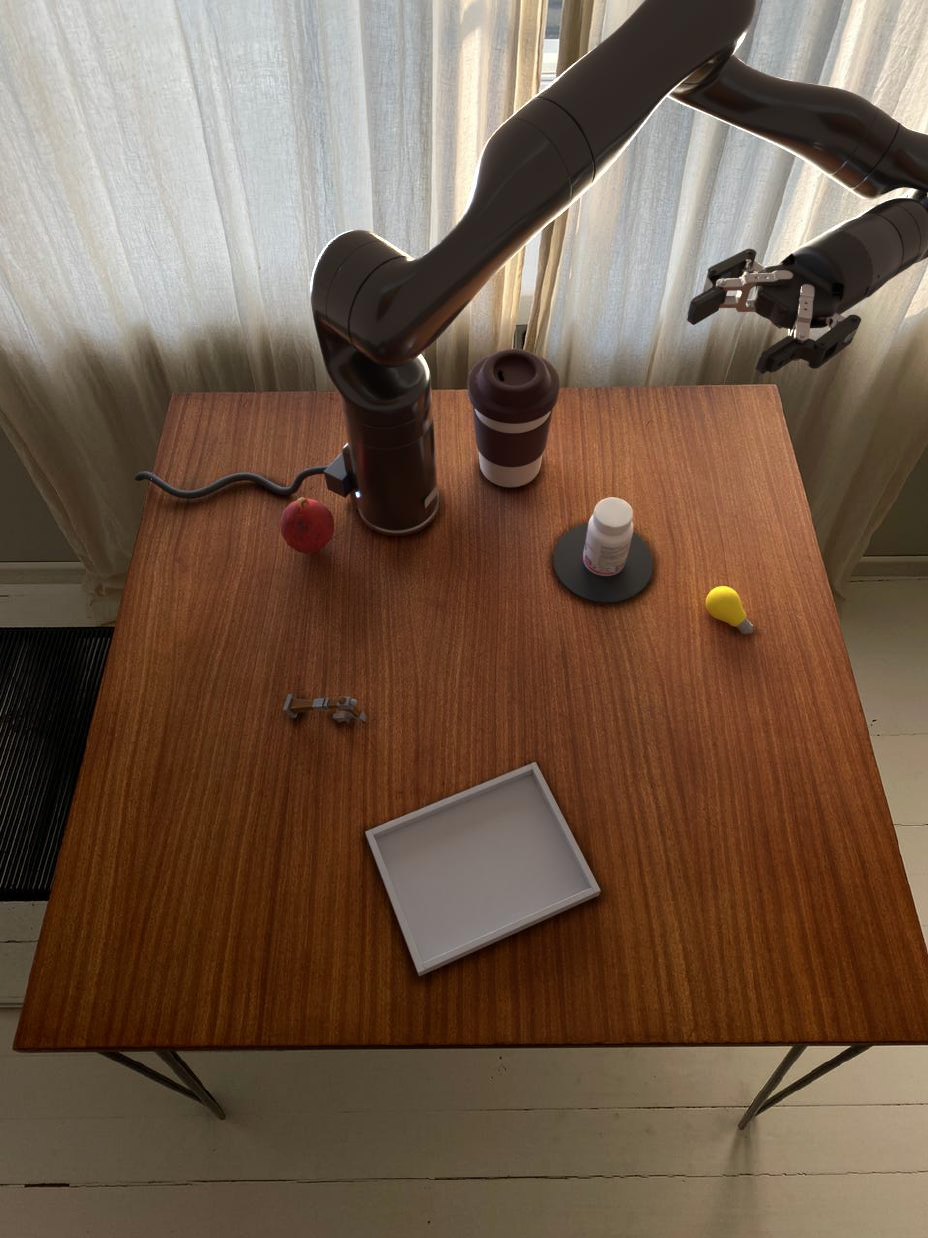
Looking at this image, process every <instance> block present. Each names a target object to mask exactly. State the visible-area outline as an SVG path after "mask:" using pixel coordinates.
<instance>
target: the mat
mask: <svg viewBox="0 0 928 1238" xmlns="http://www.w3.org/2000/svg"><path fill="white" fill-rule="evenodd" d="M588 523H589V522H587V523H582V524H580V525H577V526H575V527H573V528H571V529H570V530H568V531H567V532H566V533H564V534H563V535H562V536H561V538H560V539H559V540H558V542H557V544H556V545H555V548H554V550H553V555H552V556H553V557H552V563H553V570H554V573H555V575H556V577H557V579H558V581H559V582H560V583H561V584H562V586H563V587H564V588H565V590H567V591H568V592H569V593H571V594H572V595H574V596H575V597H577V598H579V599H582V600H583V601H585V602H589V603H594V604H600V605H614V604H619V603H623V602H626V601H629V600H631V599H633V598H635V597H636V596H638V595H639V594H640V593H641V592H643V591H644V589H645V588H647V585H648V584H649V582H650V580H651V578H652V574H653V571H654V560H653V555H652V553H651V550H650V548H649V546H648V545H647V544H646V542H645V541H644V539H642V537H641V536H639V535H638V534H637V533H635V532H634V531H633V534H632V539H631V543H630V547H629V551H628V555H627V560H626V563H625V566H624V568H623V569H622V570H621V571H620V572H619V573H617V574H615V575H611V576H601V575H597V574H594V573H593V572H591V571H590V570H589V569H588V568H587V567H586V566H585V564H584V561H583V552H584V547H585V541H586V535H587V528H588Z"/></svg>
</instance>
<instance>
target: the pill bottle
mask: <svg viewBox="0 0 928 1238" xmlns="http://www.w3.org/2000/svg"><path fill="white" fill-rule="evenodd" d="M593 509H594V510H593V513H592V514H591V516H590V517H589V520H588V522H587V523H588V528H587V535H586V541H585V547H584V552H583V561H584V564H585V566H586V567H587V568H588V569H589V570H590V571H591V572H593V573H594V574H597V575H601V576H611V575H615V574H617V573H619V572H620V571H621V570H622V569H623V568H624V566H625V563H626V560H627V555H628V551H629V547H630V543H631V539H632V534H633V532H634V523H633V517H634V511H633V508H632V506H631V505H630V503H628V502H627V501H626V500H624V499H622V498H619V497H605V498H603V499H601V500H599V501H598V502H597V503H596V505H595V507H594V508H593Z"/></svg>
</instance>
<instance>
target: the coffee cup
mask: <svg viewBox="0 0 928 1238" xmlns="http://www.w3.org/2000/svg"><path fill="white" fill-rule="evenodd" d="M560 389H561V379H560V374H559V373H558V371H557V369H556V367H555V366H554V365H553V364H552V363H551V361H549V360H547V359H545V357H542V356H541V355H538V354H536V353H533V352H532V351H529V350H525V349H523V348H522V349H521V348H507V349H502V350H499V351H496V352H494V353H491V354H488V355H486V356H485V357H483V358H482V359H480V360H478V361H477V362H476V363H475V364H474V366H473V367H472V368H471V370H470V372H469V374H468V376H467V395H468V399H469V401H470V403H471V405H472V415H473V416H472V417H473V425H474V427H473V428H474V435H475V436H474V437H475V445H476V448H477V451H478V459H479V468H480V470H481V472H482V474H483V476H484V477H485V478H486V479H487V480H489V482H491V483H493V484H494V485H496V486H500V487H503V488H519V487H521V486H525V485H527V484H529V483H530V482H532V481H533V480H534V479H535V478H536V477H537V475H538V474H539V473H540V470H541V466H542V461H543V455H544V453H545V450H546V448H547V444H548V437H549V433H550V429H551V428H550V427H551V422H552V419H553V412H554V408H555V406H556V405H557V403H558V400H559V397H560V392H561V391H560Z"/></svg>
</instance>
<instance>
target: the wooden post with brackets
mask: <svg viewBox="0 0 928 1238" xmlns="http://www.w3.org/2000/svg"><path fill="white" fill-rule="evenodd" d="M357 704H358V701H357V699H355V698H353V697H352V696H350V695H349V696H339V697H338V698H330V697H320V698H316V697H315V698H314V699H303V698H296V697H295V696H294V695H293V694H289V693H288V694H287V697H286V700H285V703H284V704H283V705H284V706H283V708H282V711H284V712H285V713H286V714H287V715H288V716H290V717H291V718H292V719H294V718H297V716H298V714H299V713H300V714H301V713H304V712H309V711H317V712H321V711H324V712H327V711H328V712H330V711H331V712H332V710H335V709H336V711H335V713H332V714H333V715H332V719H334V720H336V721H337V722H338V723H342V722H346V723H347V724H349V723H350V720H353V719H356V721H359V722H360V723H361V724H367V723H368V720H369V716H367V715H366V713H365V712H364V711H362V710H360V709H359V708H358V707H357ZM338 709H339V710H338Z"/></svg>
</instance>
